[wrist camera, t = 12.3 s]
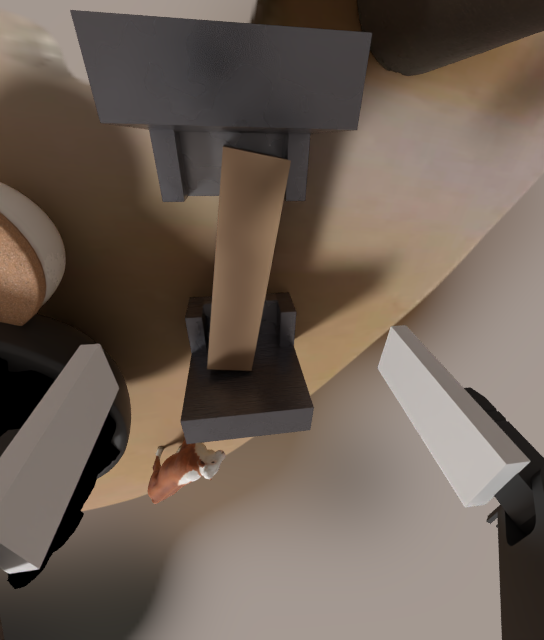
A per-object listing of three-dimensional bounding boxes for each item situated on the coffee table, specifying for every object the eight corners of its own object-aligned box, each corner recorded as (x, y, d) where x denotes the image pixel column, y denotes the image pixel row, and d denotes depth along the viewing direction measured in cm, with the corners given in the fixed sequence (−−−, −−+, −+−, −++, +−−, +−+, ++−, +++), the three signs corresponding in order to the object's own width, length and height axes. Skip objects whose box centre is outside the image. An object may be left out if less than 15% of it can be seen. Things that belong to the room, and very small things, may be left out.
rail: (275, 155, 21) (290, 160, 16) (247, 332, 30) (251, 370, 25) (223, 145, 20) (222, 146, 15) (210, 330, 29) (207, 369, 24)
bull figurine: (230, 419, 40) (231, 475, 33) (169, 460, 44) (158, 518, 37) (208, 406, 38) (204, 463, 31) (146, 450, 41) (130, 510, 35)
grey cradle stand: (300, 85, 20) (372, 32, 10) (285, 344, 34) (310, 429, 24) (152, 78, 19) (69, 10, 9) (198, 351, 32) (186, 444, 22)
